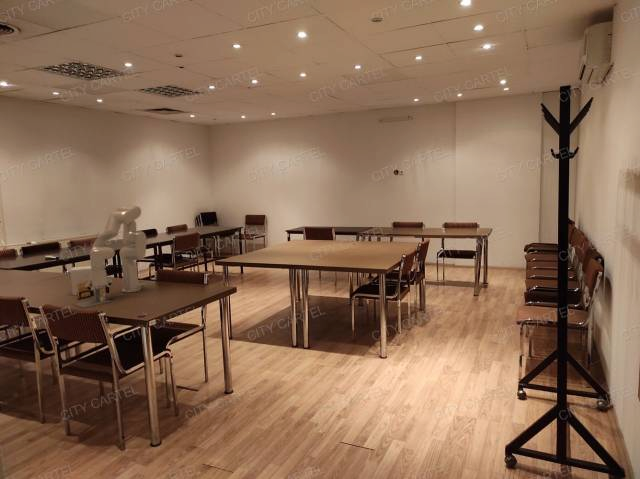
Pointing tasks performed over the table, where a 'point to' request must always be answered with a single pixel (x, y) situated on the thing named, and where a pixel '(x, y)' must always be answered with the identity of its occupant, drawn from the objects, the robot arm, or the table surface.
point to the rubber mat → (91, 303)
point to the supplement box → (80, 277)
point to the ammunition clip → (83, 291)
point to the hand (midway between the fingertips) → (100, 294)
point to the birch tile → (100, 294)
